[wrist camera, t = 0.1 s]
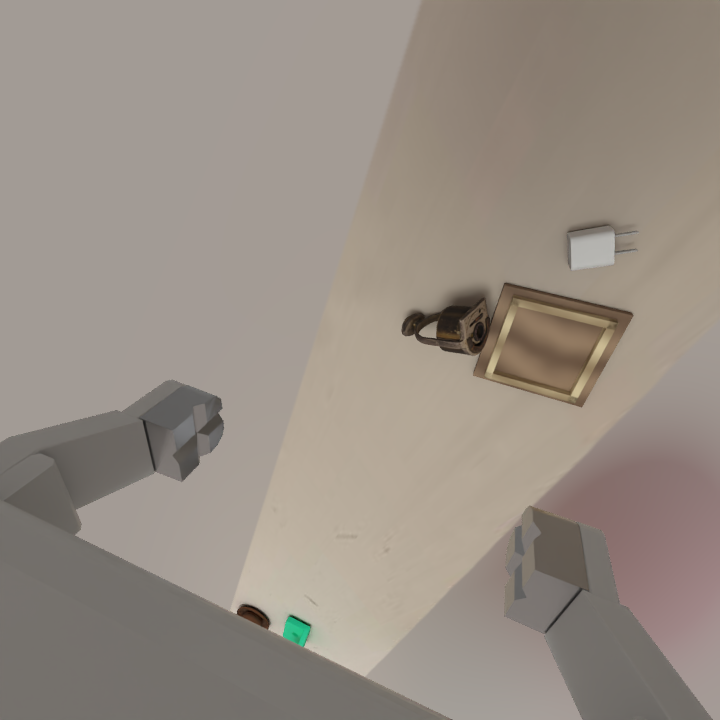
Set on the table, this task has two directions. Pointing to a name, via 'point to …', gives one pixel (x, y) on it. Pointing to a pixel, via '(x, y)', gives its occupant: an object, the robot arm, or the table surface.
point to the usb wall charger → (593, 247)
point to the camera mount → (296, 631)
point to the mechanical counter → (454, 328)
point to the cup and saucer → (253, 616)
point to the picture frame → (549, 343)
